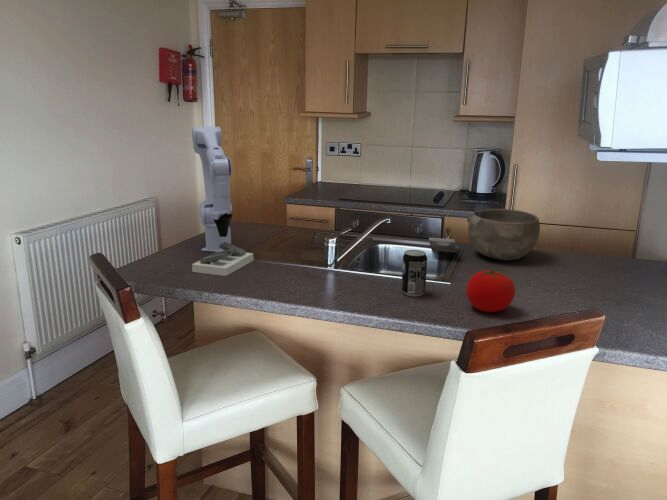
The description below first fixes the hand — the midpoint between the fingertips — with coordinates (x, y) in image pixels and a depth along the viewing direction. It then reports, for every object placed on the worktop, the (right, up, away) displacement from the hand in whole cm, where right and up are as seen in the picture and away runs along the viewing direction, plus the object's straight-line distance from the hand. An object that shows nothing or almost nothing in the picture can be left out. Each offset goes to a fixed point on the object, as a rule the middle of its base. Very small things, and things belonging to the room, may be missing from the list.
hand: (223, 236), depth 182 cm
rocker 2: (+1, -6, -5) cm, 8 cm away
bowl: (+95, -7, +10) cm, 95 cm away
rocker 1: (-1, -8, -10) cm, 12 cm away
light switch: (+75, -7, +10) cm, 76 cm away
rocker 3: (+3, -5, 0) cm, 6 cm away
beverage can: (+59, -17, -27) cm, 67 cm away
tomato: (+77, -20, -38) cm, 89 cm away
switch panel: (+1, -10, -4) cm, 10 cm away
